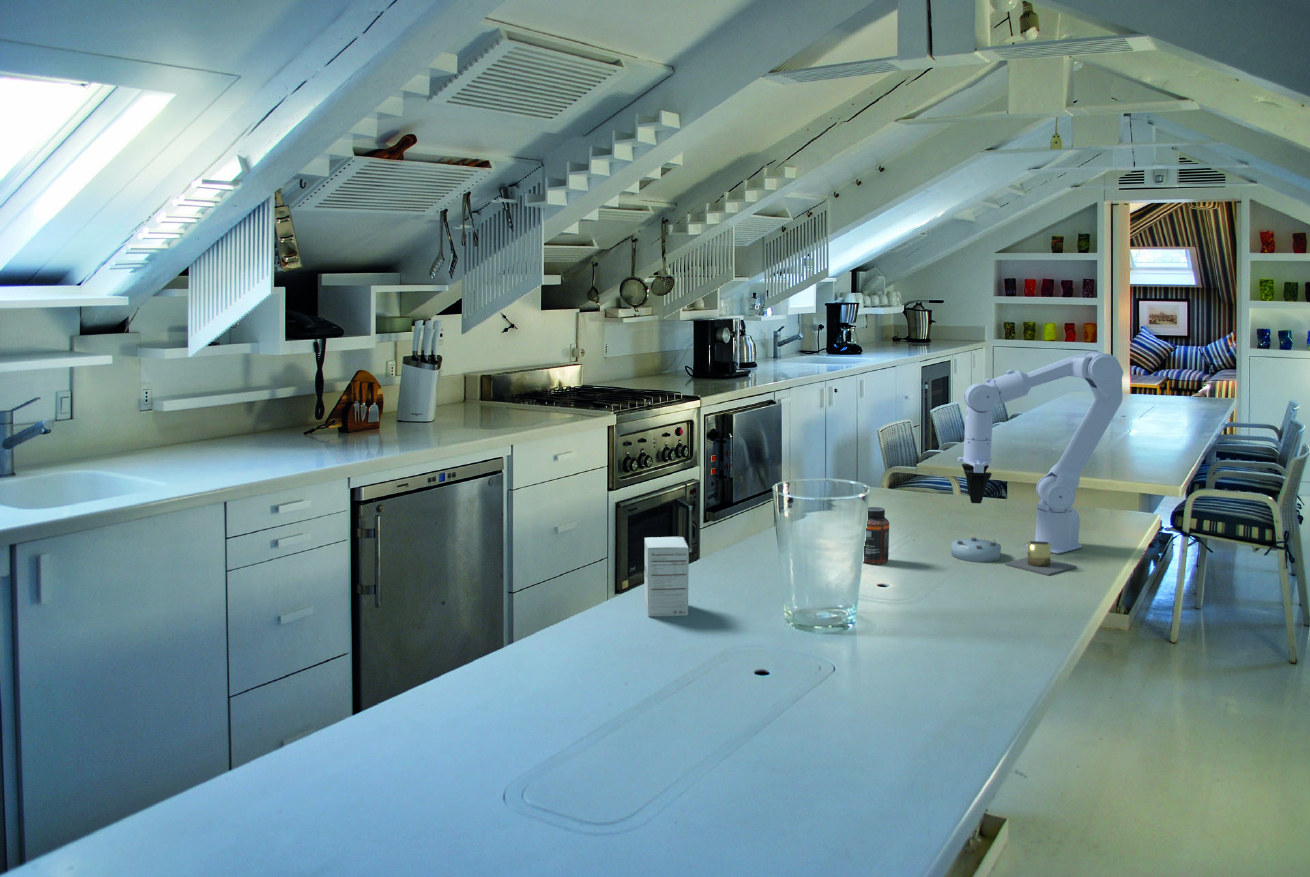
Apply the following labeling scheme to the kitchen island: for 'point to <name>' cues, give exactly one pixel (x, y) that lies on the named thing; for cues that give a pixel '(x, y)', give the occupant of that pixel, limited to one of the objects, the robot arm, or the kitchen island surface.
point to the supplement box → (666, 576)
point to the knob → (1039, 553)
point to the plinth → (976, 550)
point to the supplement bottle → (876, 537)
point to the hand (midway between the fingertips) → (974, 499)
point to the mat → (1045, 570)
